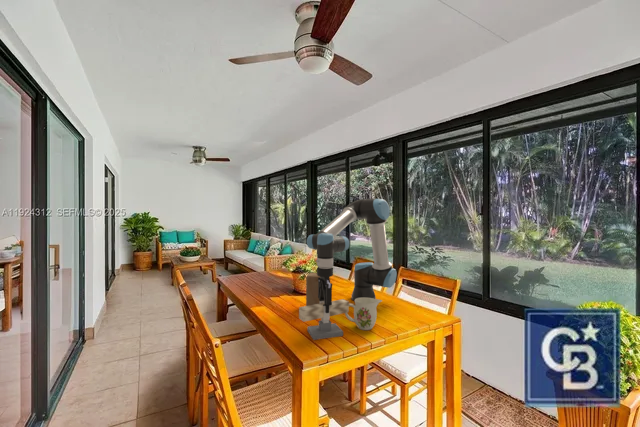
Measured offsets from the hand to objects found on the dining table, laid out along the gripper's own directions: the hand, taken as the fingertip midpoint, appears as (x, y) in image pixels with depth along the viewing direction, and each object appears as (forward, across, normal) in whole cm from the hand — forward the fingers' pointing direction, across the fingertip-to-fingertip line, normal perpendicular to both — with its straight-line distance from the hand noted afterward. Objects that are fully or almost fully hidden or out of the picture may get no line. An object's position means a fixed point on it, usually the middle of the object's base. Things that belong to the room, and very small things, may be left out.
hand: (324, 317), depth 136 cm
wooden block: (+8, -33, +6) cm, 35 cm away
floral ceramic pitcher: (+8, -1, +20) cm, 22 cm away
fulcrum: (+8, 0, 0) cm, 8 cm away
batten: (-1, 0, 0) cm, 1 cm away
